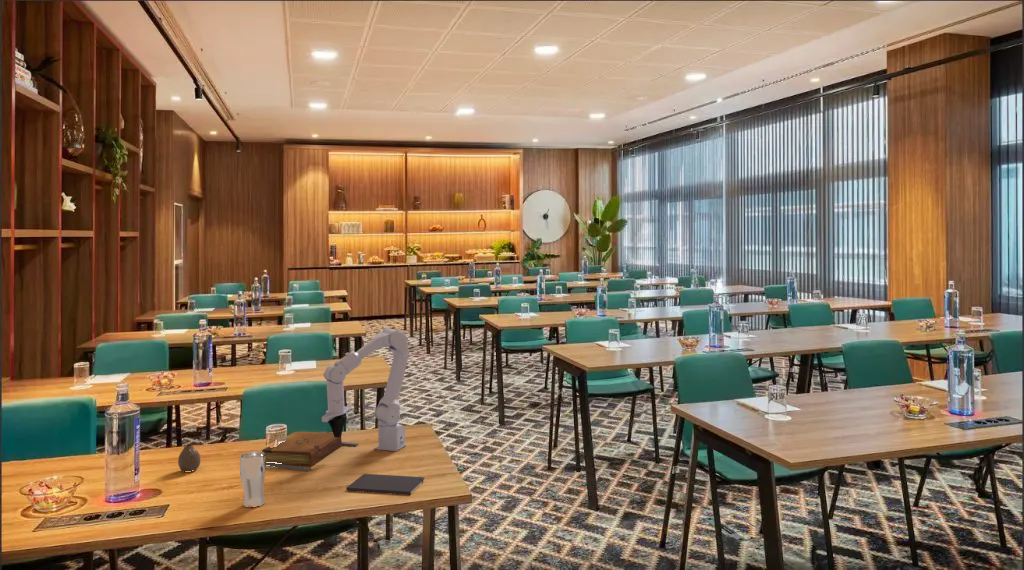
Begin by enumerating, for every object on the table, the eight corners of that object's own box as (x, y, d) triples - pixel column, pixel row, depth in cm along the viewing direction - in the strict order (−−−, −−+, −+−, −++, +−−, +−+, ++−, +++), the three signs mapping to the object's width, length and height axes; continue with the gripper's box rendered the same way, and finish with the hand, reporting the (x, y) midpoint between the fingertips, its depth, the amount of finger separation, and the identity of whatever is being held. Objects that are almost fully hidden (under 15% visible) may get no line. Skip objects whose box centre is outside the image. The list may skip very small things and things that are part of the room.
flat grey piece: (357, 445, 260) (357, 443, 260) (308, 471, 232) (308, 468, 232) (297, 439, 270) (297, 437, 270) (243, 463, 242) (243, 461, 242)
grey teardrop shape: (175, 471, 236) (173, 446, 235) (195, 465, 241) (194, 441, 241) (183, 475, 231) (182, 449, 231) (204, 470, 236) (202, 445, 236)
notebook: (346, 492, 214) (410, 496, 209) (346, 487, 213) (410, 491, 209) (364, 478, 226) (425, 481, 221) (364, 473, 226) (425, 477, 221)
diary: (312, 468, 237) (311, 452, 237) (262, 466, 241) (261, 450, 241) (341, 447, 260) (341, 432, 259) (296, 445, 263) (295, 431, 263)
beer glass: (258, 509, 200) (255, 458, 199) (237, 508, 202) (234, 458, 201) (271, 500, 207) (268, 451, 206) (250, 499, 208) (247, 450, 207)
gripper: (338, 393, 253) (340, 430, 254) (313, 403, 239) (315, 441, 240) (354, 394, 250) (356, 431, 251) (330, 404, 236) (332, 443, 237)
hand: (337, 436), depth 245 cm, fingers closed
